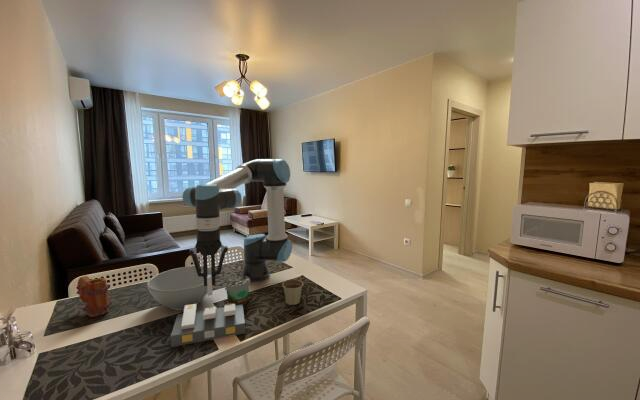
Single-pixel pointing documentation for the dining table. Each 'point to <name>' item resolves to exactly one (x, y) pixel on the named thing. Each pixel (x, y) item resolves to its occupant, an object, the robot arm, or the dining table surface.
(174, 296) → the decorative bowl
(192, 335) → the switch unit
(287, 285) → the flower pot
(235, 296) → the food container
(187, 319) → the block
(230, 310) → the block
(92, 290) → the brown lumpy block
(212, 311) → the rocker
